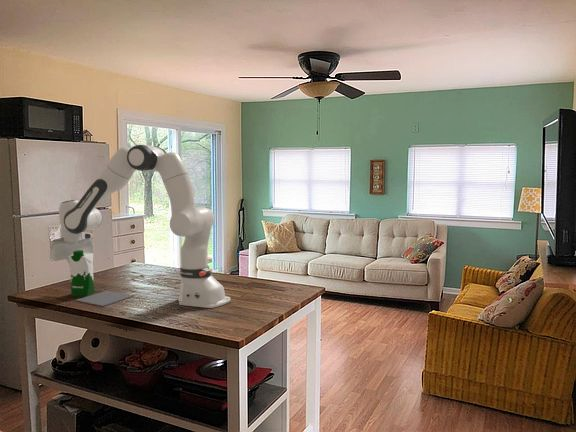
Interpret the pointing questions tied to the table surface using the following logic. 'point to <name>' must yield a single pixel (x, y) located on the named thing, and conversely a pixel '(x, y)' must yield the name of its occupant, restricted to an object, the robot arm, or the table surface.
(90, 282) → the soya milk
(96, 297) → the mat
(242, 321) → the table surface
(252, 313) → the table surface
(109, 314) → the table surface
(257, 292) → the table surface
